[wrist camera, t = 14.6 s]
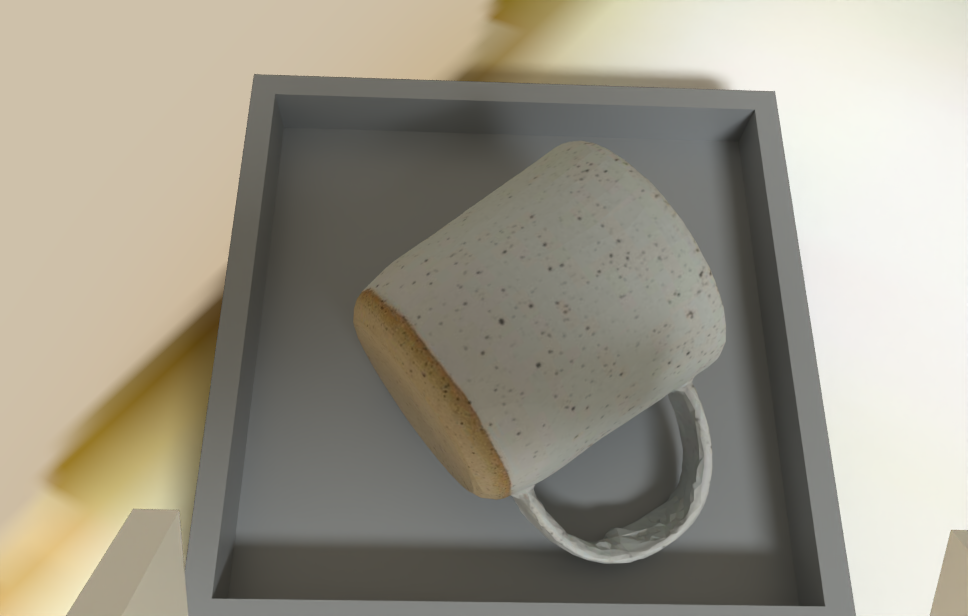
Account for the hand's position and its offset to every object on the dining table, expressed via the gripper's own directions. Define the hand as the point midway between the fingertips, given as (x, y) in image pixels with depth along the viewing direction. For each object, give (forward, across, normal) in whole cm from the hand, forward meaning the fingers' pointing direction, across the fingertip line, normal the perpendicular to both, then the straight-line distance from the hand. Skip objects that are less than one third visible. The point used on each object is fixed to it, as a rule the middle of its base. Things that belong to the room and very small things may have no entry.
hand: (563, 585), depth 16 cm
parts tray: (+15, 0, -2) cm, 15 cm away
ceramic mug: (+13, +1, -3) cm, 14 cm away
